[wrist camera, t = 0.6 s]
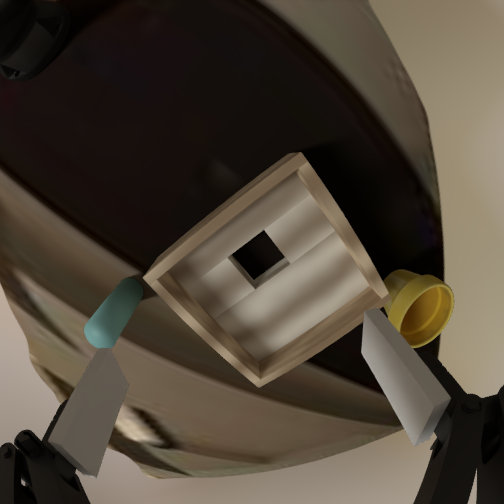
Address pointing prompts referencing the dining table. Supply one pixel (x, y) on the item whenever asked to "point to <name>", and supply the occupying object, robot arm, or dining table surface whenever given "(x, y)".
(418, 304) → the plant pot
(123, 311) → the peg
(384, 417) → the dining table surface
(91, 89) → the dining table surface
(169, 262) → the box
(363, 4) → the dining table surface
